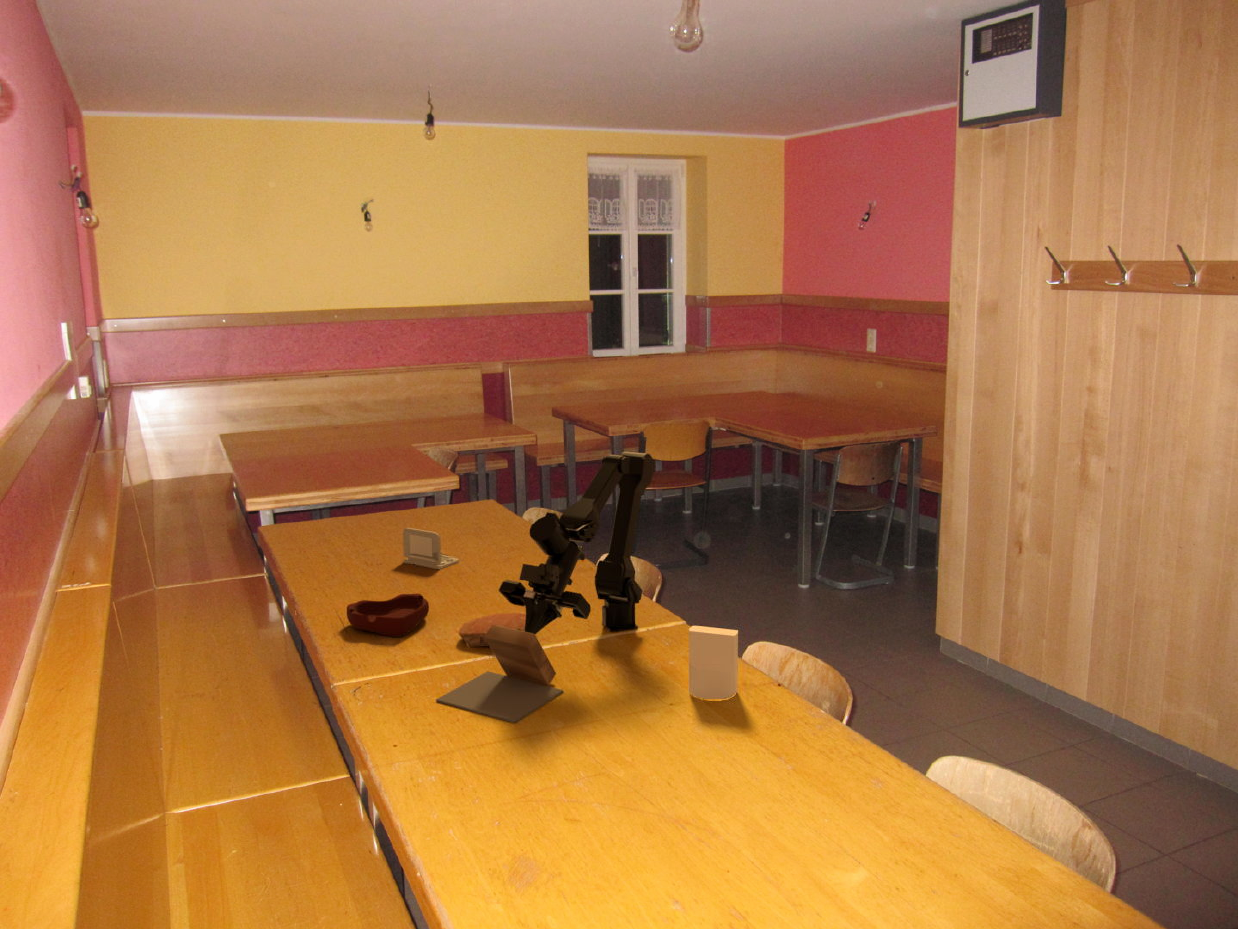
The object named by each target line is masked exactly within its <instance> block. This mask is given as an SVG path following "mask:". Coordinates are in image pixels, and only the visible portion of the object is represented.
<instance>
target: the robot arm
mask: <svg viewBox="0 0 1238 929" xmlns="http://www.w3.org/2000/svg"><path fill="white" fill-rule="evenodd" d="M655 471H656V461H655V460H654V459H653V456H652V455H651V454H650V453H643V452H633V451H623V452H621V453H620V454H618V455H617V454H607V455H605V456H603V459H602V460H601V465H600V467H599V469H598V470H597V472H596V473H595V475H594V477H593V479H592V480H591V482H589V483H590V484H589V485H588V487H587V488H586V490H585V491H584V493H583V495H582V496H581V498H579V500H578V501H576V502H574V503H573V504H570V505H569V506H568V507H567V508H566V509H565V510H564V512H563V513H562V514H561V515H560V516H558V515H557V513H555V512H549V511H548V512H546V513H545V516H542V517H540V518H538V519H536V521H535V520H534V522H533V523H532V524H531V526H530V528H529V537H530V538H531V539H532V541H534V543H535V544H536V545H537V547H538V548H539V550H541V552H542V553H543V554H544V555H545V556H548V557H547V559H546V561H545V562H544V563H542V562H541V563H539V565H533V564H527V563H522V566H521V570H520V574H519V581H516V580H510V579H506V580H504V581H502V583H501V584H500V585H499V589H498V592H499V593H500V594H501V595H502V596H503V598H505V599H506V600H507V601H508V603H509V604H512V605H514V606H519V607H525V615H526V621H525V632H529V633H533V634H535V635H537V634H538V633H539V632H541V630H543V629H544V628H545V627H546V626H548V625H549V624H550V623H553V621H555V620H556V619H557V618H559V619H560V618H562V617H563V615H562V611H563V609H564V608H566V609H572V612H571V613H572V614H573V616H574V618H579V619H582V620H587V619H588V618H589V616H590V614H591V611H592V610H591V608H592V607H591V604H590V603H589V602H588V601H587V600H586V598H585V597H584V595H583V594H582V593H580V592H574V591H569V590H566V588H567V586H572V584H573V580H572V579H571V576H572V575H573V572H574V570H575V568H576V566H577V563H578V561H585V560H586V556H585V552H584V550H583V547H582V546H580V545H578V544H577V543H576V542H580V543H585V544H586V543H591V542H592V541H593V540H594V539H595V537H596V536H597V533H598V532H599V531H598V530H599V529H600V526H601V519H600V514H602V511H603V509H604V507H605V506H606V504H607V502H608V501H609V499H610V497H611V496H612V494H613V492H614V491H615V489H616V487H617V486H618V488H619V493H618V499H617V505H616V509H615V514H614V520H613V521H614V522H613V527H612V530H611V531H612V533H611V536H610V543H609V549H608V553H607V555H606V556H605V558H603V560H602V559H600V560H598V561H597V564H596V572H595V575H594V586H595V587H594V588H595V592H596V595H597V599H598V600H603V602H604V605H602V607H601V614H602V615H601V619H602V621H601V624H602V625H604V627H605V628H606V629H607V630H608V631H609V632H612V633H613V632H614V633H615V632H620V631H630V630H636V629H638V628H639V626H638V624H637V623H636V604H639V603H640V601H641V599H642V594H643V589H642V588H641V587H640V585H639V583H638V582H637V581H636V580H635V579H636V569H635V567H634V564H633V561H632V558H631V557H632V550H633V546H634V539H635V534H636V528H637V522H638V516H639V512H640V506H641V499H642V494H643V493H644V492H645V490H647V488H648V487H649V486H650V485H651V484H652V479H653V476H654V473H655ZM521 581H525V582H528V583H527V585H528V587H530V588H532V589H528V588H527V587H526V586H524V585H523V583H522V582H521Z"/></svg>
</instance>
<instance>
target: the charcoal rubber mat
mask: <svg viewBox="0 0 1238 929" xmlns="http://www.w3.org/2000/svg"><path fill="white" fill-rule="evenodd" d="M563 693H564V689H560V688H556V687H552V686H550V685H549V686H546V685H542V684H538V683H534V682H530V681H526V680H522V679H518V678H514V677H510V676H507V675H506V674H505V675H504V674H500V673H496V672H493V671H492V672H491V671H489V670H488V671H485V672H484V673H482V674H480V675H478V676H477V677H475V678H473V679H471V680H469V681H467V682H465V683H464V684H462V685H460V686H458V687H456V688H455V689H452V690H451V691H449V692H447V693H445V694H443V695H442V696H440V697H437V698H436V699H435V701H436V702H437V703H441V704H445V705H448V706H451V707H455V708H459V709H462V710H466V711H469V712H473V713H475V714H476V713H477V714H480V715H484V716H488V717H491V718H494V719H498V720H502V721H505V722H507V723H508V722H509V723H512V724H516V723H518V722H519V721H521V720H523V719H525V718H526V717H528V716H529V715H530V714H531V713H533V712H535V711H537V710H538V709H540V708H541V707H543V706H544V705H546V704H548V703H549V702H550V701H552V700H554V699H555V698H557V697H558V696H560V695H561V694H563Z"/></svg>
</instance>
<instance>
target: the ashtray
mask: <svg viewBox="0 0 1238 929" xmlns="http://www.w3.org/2000/svg"><path fill="white" fill-rule="evenodd" d="M429 611H430V604H429V601H428V600H427V599H426V598H424V596H423V595H422V594H421V593H401V594H398V595H396V596H395V597H393V598H391V599H387V600H370V599H369V600H367V599H362V600H359V601H357V602H353V603H349V604H348V605H347V606H346V618H347V620H348V622H349V623H350V625H351V626H352V627H353V628H355V629H357V630H362V631H366V632H371V633H376V634H379V635H383V636H388V637H393V638H400V636H401V637H404V636H406V635H408V634H409V633H410V632H411V631H412V630H413V629H414V628H416V626H417V625H418V624H420V622H422V621H423V620H424V619H425V618H426V617H427V616H428V613H429Z"/></svg>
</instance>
